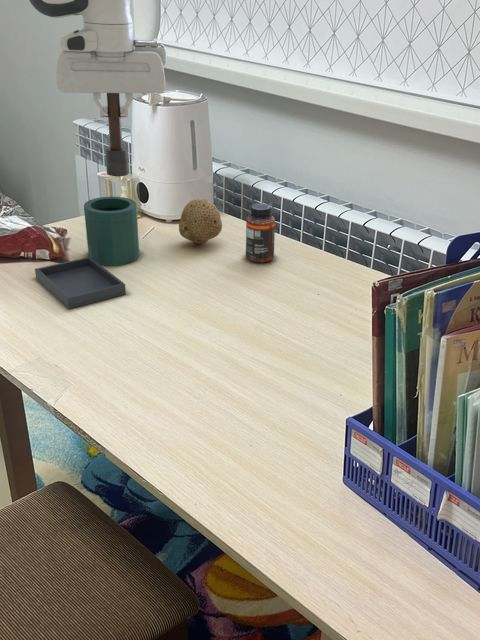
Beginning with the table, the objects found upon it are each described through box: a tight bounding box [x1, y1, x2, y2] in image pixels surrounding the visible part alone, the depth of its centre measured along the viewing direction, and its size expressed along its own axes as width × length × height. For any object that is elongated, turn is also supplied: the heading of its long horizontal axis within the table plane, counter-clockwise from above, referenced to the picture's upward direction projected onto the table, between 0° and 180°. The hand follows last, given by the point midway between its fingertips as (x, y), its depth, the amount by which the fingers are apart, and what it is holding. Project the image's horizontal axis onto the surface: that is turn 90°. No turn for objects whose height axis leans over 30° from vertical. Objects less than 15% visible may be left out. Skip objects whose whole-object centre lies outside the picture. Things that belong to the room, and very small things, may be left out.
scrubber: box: [104, 93, 130, 177], centre depth 136 cm, size 4×4×16 cm
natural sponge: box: [178, 198, 223, 245], centre depth 148 cm, size 9×9×10 cm
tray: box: [34, 256, 127, 310], centre depth 130 cm, size 15×11×2 cm
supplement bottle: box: [245, 202, 276, 264], centre depth 142 cm, size 6×6×11 cm
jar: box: [83, 196, 140, 267], centre depth 141 cm, size 10×10×11 cm
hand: (114, 116), depth 135 cm, fingers closed on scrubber, 2 cm apart
